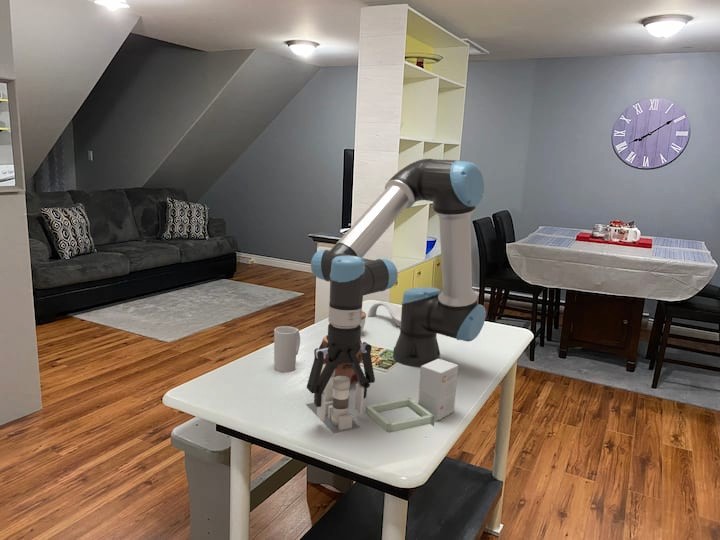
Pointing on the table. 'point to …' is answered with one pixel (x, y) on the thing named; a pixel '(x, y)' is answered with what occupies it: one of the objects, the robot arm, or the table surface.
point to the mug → (286, 348)
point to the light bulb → (340, 398)
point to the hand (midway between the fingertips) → (339, 414)
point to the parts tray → (423, 419)
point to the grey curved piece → (392, 309)
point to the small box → (438, 387)
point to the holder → (344, 421)
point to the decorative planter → (343, 368)
